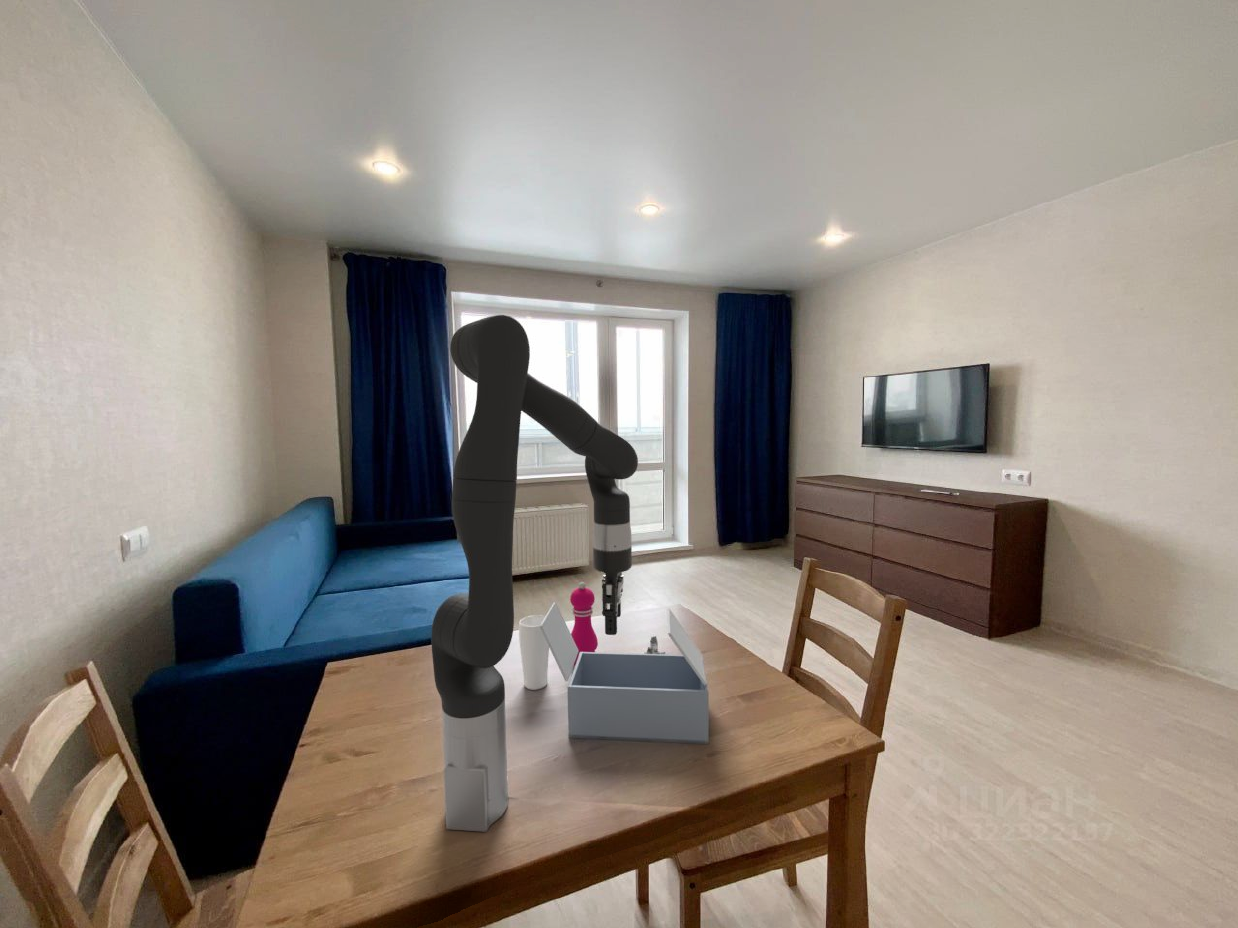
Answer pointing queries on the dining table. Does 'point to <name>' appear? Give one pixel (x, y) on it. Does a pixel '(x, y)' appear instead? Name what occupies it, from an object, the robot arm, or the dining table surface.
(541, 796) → the dining table surface
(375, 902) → the dining table surface
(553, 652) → the flap left
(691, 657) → the flap right
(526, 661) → the drinking glass
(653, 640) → the house of cards
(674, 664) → the carton
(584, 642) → the pepper mill
